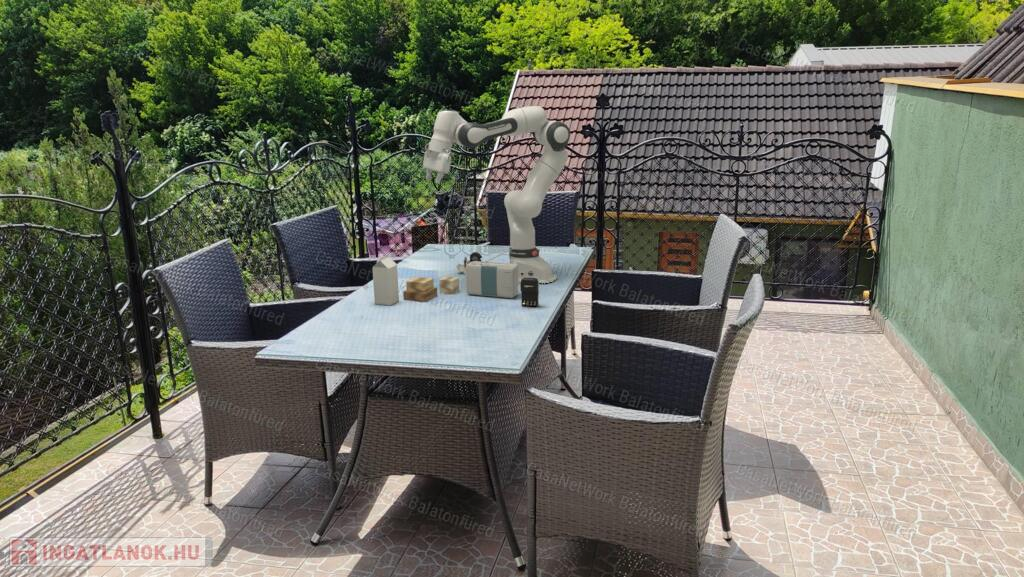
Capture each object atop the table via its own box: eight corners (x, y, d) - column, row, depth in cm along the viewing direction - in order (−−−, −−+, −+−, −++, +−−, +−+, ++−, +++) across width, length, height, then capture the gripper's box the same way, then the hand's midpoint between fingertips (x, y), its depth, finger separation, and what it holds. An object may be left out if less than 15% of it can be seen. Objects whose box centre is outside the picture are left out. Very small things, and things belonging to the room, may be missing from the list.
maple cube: (459, 291, 290) (458, 277, 289) (452, 294, 285) (452, 280, 283) (446, 290, 292) (446, 276, 291) (439, 293, 287) (439, 279, 285)
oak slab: (433, 288, 282) (433, 278, 281) (424, 292, 275) (423, 283, 274) (416, 286, 285) (416, 276, 284) (406, 290, 278) (406, 281, 276)
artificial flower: (485, 267, 339) (489, 249, 335) (467, 283, 319) (471, 264, 315) (469, 261, 341) (472, 243, 337) (450, 277, 321) (453, 258, 317)
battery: (519, 307, 266) (519, 278, 263) (522, 304, 270) (521, 276, 267) (537, 308, 264) (537, 279, 261) (539, 305, 268) (539, 276, 265)
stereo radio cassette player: (465, 295, 283) (464, 248, 278) (473, 290, 291) (472, 244, 285) (513, 300, 276) (512, 251, 271) (520, 294, 284) (519, 247, 278)
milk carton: (399, 301, 276) (396, 254, 271) (390, 305, 270) (387, 258, 265) (383, 299, 278) (380, 253, 273) (374, 304, 272) (371, 257, 267)
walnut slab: (437, 297, 283) (437, 287, 282) (425, 303, 274) (425, 293, 273) (416, 294, 287) (415, 285, 286) (403, 300, 278) (403, 291, 277)
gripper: (457, 152, 276) (449, 186, 278) (437, 148, 293) (430, 180, 295) (443, 149, 272) (435, 183, 274) (424, 144, 289) (416, 177, 292)
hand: (432, 181), depth 285 cm, fingers open, 8 cm apart
